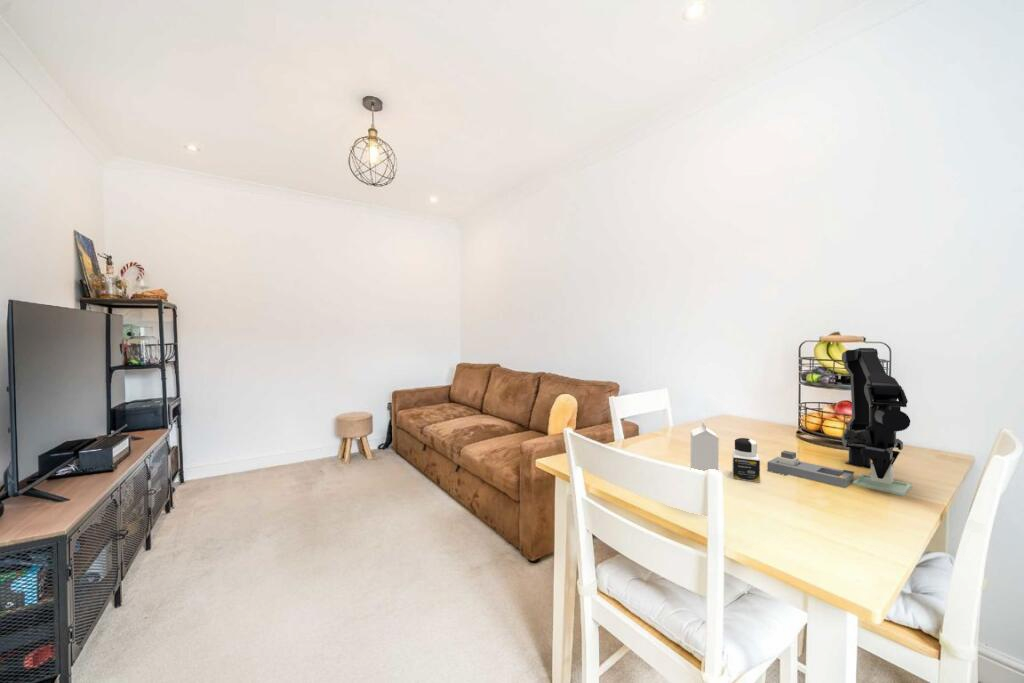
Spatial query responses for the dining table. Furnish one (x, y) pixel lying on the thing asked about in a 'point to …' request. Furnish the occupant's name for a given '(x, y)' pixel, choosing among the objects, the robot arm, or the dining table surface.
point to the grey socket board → (813, 472)
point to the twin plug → (788, 458)
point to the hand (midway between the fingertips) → (882, 476)
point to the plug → (887, 478)
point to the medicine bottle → (746, 460)
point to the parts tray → (883, 485)
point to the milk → (704, 448)
